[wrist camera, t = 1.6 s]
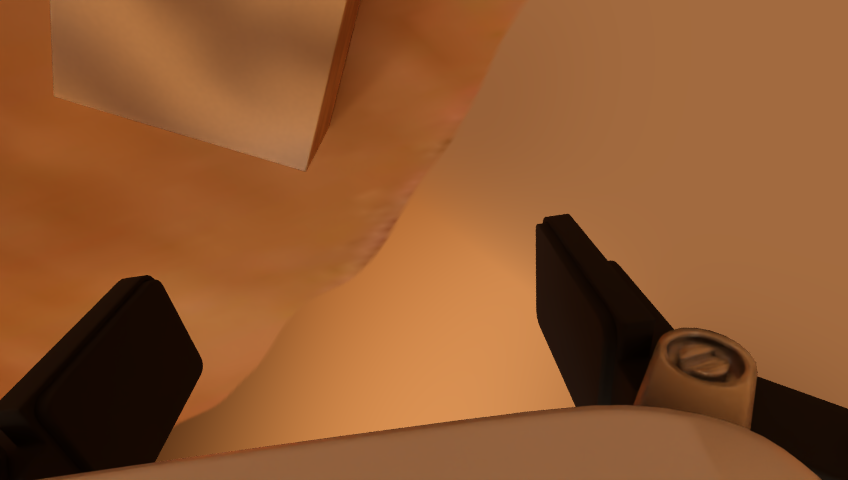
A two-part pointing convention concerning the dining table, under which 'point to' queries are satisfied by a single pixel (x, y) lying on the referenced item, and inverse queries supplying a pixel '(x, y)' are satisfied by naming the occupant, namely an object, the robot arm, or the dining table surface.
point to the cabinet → (209, 67)
